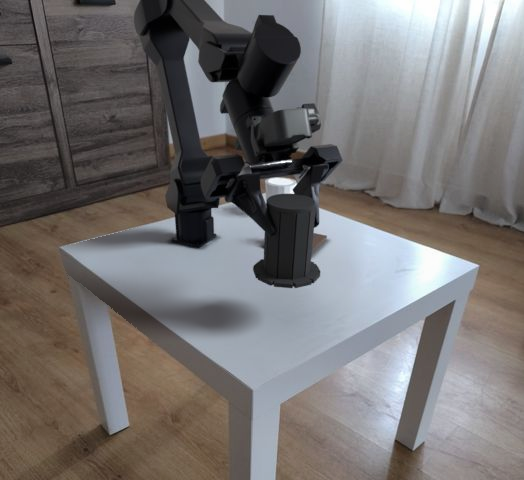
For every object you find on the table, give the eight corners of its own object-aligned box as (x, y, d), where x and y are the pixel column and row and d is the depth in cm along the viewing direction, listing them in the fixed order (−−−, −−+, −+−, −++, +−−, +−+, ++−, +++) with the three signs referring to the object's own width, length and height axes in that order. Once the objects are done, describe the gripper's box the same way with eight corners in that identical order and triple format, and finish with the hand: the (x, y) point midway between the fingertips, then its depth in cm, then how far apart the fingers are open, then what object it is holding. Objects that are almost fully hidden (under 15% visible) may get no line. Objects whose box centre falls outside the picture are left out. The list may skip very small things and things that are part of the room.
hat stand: (265, 247, 92) (266, 216, 89) (284, 231, 99) (286, 202, 96) (309, 256, 89) (312, 225, 86) (326, 240, 96) (329, 210, 92)
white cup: (292, 220, 105) (294, 187, 101) (261, 217, 106) (261, 184, 102) (297, 209, 110) (299, 178, 106) (267, 207, 111) (268, 175, 107)
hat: (242, 278, 66) (242, 205, 60) (271, 254, 73) (274, 186, 67) (303, 294, 63) (310, 218, 57) (328, 267, 70) (336, 196, 64)
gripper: (206, 80, 53) (254, 210, 52) (342, 75, 61) (387, 188, 60) (183, 142, 63) (222, 253, 62) (303, 131, 71) (340, 229, 70)
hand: (294, 230), depth 63 cm, fingers closed on hat, 6 cm apart
